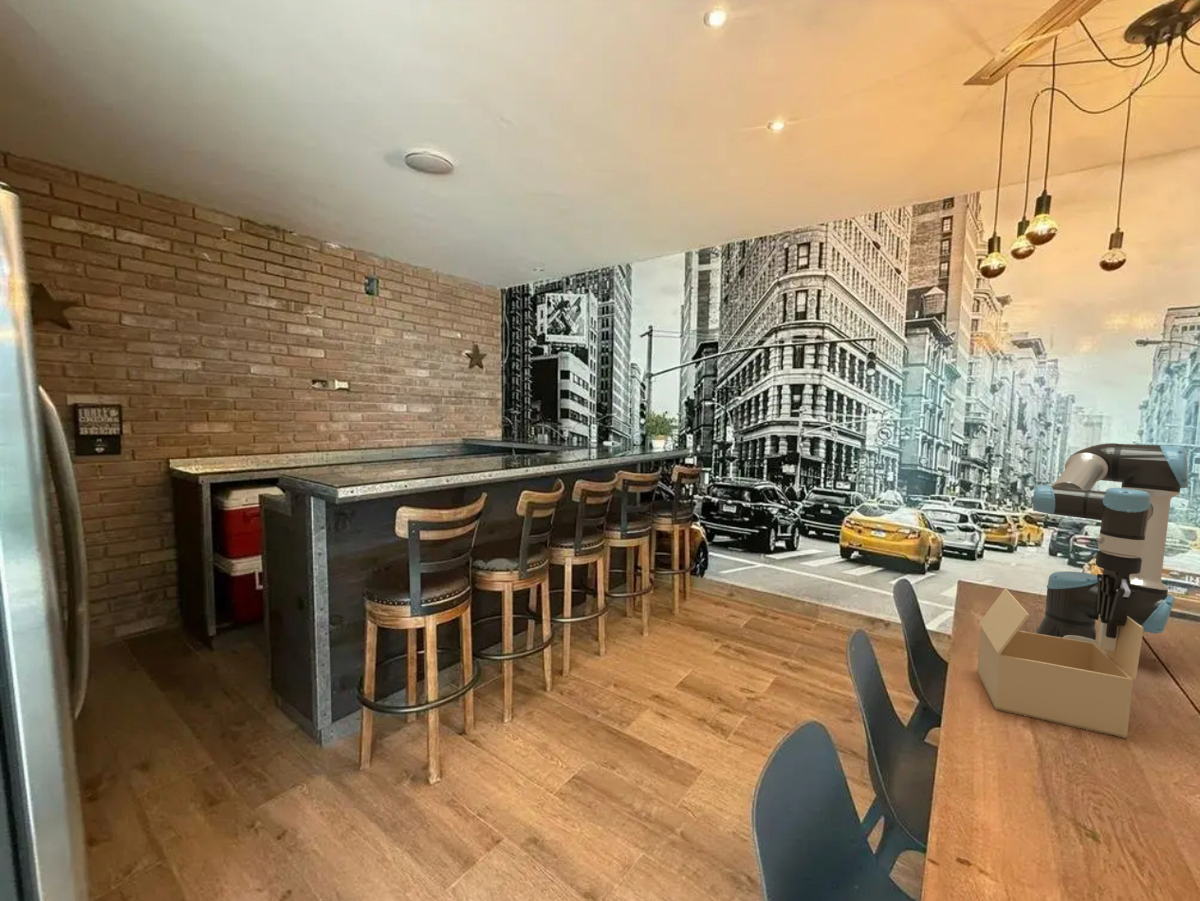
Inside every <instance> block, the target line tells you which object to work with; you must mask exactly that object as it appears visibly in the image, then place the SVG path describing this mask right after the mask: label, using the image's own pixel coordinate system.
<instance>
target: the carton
mask: <svg viewBox="0 0 1200 901" xmlns="http://www.w3.org/2000/svg"><path fill="white" fill-rule="evenodd" d="M979 631H980V632H979V645H978V646H979V647H978V655H977V656H978V657H977V658H978V659H977V668H976V669H977V670H976V673H977V675H978V676H979V679H980V681H981V684H982V685H983V687H984V689H985V691H986V694H987V696H988V697H989V700H990V702H991V703H992V706H993V708H994V710H995V711H999V712H1004V713H1009V714H1012V713H1014V714H1013V715H1017V714H1019V715H1018V716H1021V715H1026V716H1030V717H1034V718H1033V719H1035V718H1037V719H1036V720H1039V719H1042V720H1041V721H1044V720H1047V721H1046V722H1048V721H1049V722H1050V723H1052V724H1053V723H1054V724H1058V725H1062V726H1068V727H1071V728H1075V727H1076V729H1080V728H1081V730H1084V729H1086V730H1085V731H1089V730H1090V732H1093V731H1094V733H1098V732H1099V734H1102V733H1105V734H1104V735H1107V734H1110V735H1109V736H1111V735H1115V736H1114V737H1116V736H1118V737H1117V738H1120V737H1122V738H1121V739H1125V738H1126V740H1128V731H1129V723H1130V713H1131V706H1132V704H1131V703H1132V696H1133V687H1134V679H1133V678H1132V677H1131V676H1130V675H1129V674H1128V673H1127V672H1125V671H1124V670H1123V669H1122V668H1121V667H1120V666H1119V665H1118V664H1117V663H1116V662H1115V661H1114V660H1113V659H1112V658H1111V657H1110V656H1109V655H1108V654H1106V653H1105V652H1104V651H1102V650H1101V649H1100V648H1099V647H1098V646H1097V645H1096V644H1095V643H1091V642H1085V641H1079V640H1073V639H1067V638H1061V637H1055V636H1049V635H1043V634H1037V633H1036V632H1029V631H1024V630H1018V631H1017V632H1016V634H1015V635H1014V636H1013V638H1012V639H1011V640H1010V641H1009V643H1008V644H1007V645H1006V647H1005V648H1004V649H1003V651H1002V652H1001V653H1000V654H998V653H997V651H996V650H995V648H994V646H993V645H992V643H991V641H990V640H989V638H988V637H987V635H986V633H985V632H984V630H983V628H982V627H981V626H980V630H979ZM1026 716H1025V717H1026ZM1030 717H1029V718H1030ZM1082 728H1083V729H1082Z"/></svg>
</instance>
